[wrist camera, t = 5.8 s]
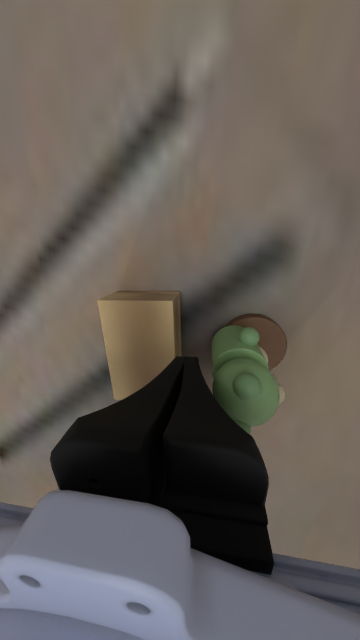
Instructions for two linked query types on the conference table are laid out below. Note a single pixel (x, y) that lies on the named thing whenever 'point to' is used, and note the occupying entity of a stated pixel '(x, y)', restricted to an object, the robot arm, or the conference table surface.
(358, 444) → the conference table surface
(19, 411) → the conference table surface
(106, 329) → the beech block
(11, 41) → the conference table surface
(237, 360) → the green figurine on base
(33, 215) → the conference table surface
